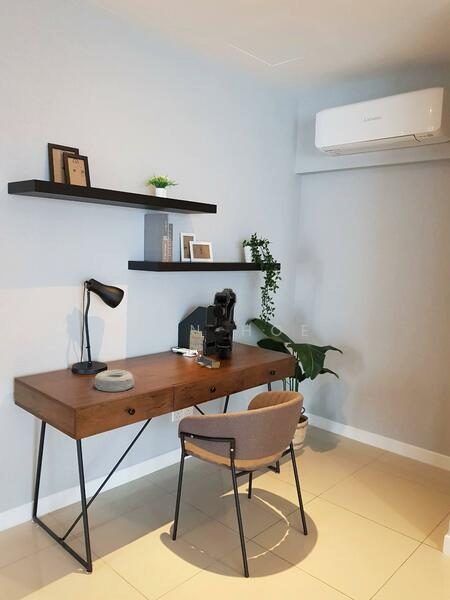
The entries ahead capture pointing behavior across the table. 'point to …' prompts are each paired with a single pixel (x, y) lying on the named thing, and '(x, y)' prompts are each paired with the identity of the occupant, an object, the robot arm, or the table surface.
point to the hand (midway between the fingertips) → (220, 342)
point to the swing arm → (208, 361)
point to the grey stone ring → (114, 380)
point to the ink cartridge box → (196, 341)
